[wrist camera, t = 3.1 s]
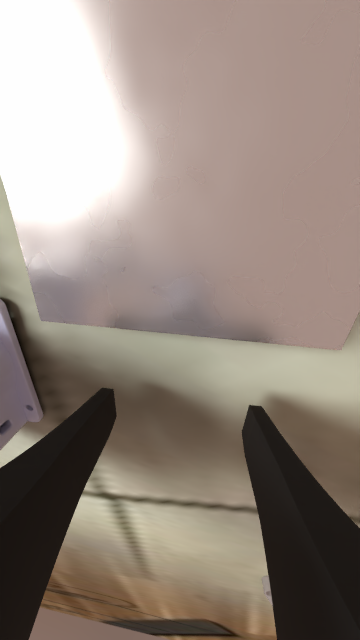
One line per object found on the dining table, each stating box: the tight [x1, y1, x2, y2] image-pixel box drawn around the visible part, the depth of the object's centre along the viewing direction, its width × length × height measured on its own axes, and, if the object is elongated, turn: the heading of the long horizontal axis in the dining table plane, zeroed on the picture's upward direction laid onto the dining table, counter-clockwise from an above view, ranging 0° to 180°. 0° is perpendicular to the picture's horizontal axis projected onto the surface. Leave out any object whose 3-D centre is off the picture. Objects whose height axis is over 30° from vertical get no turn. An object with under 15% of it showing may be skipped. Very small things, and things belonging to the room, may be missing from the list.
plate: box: [0, 0, 360, 350], centre depth 7 cm, size 10×12×3 cm
